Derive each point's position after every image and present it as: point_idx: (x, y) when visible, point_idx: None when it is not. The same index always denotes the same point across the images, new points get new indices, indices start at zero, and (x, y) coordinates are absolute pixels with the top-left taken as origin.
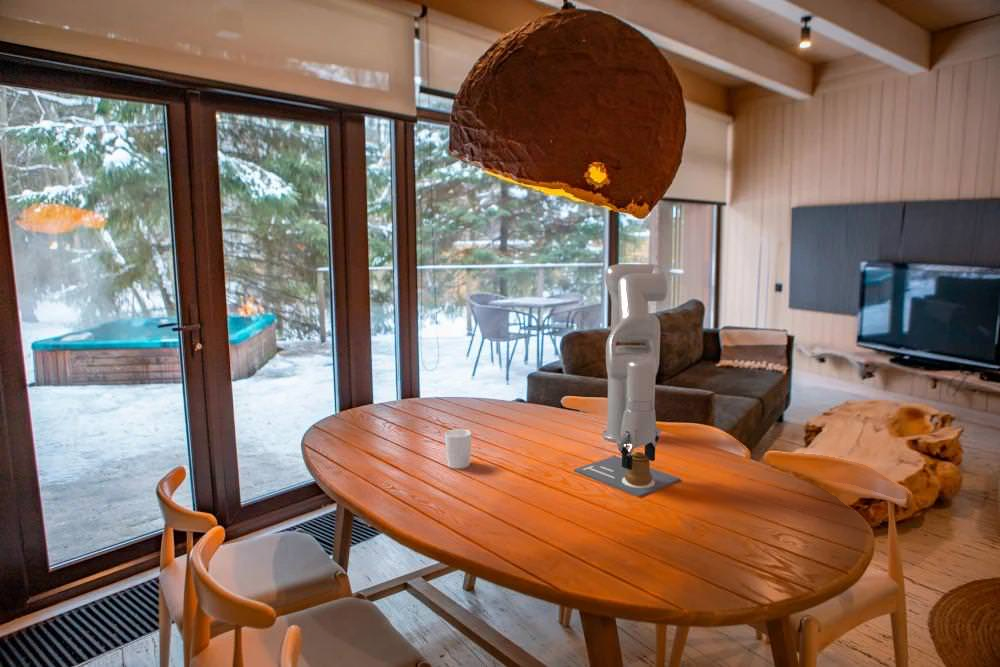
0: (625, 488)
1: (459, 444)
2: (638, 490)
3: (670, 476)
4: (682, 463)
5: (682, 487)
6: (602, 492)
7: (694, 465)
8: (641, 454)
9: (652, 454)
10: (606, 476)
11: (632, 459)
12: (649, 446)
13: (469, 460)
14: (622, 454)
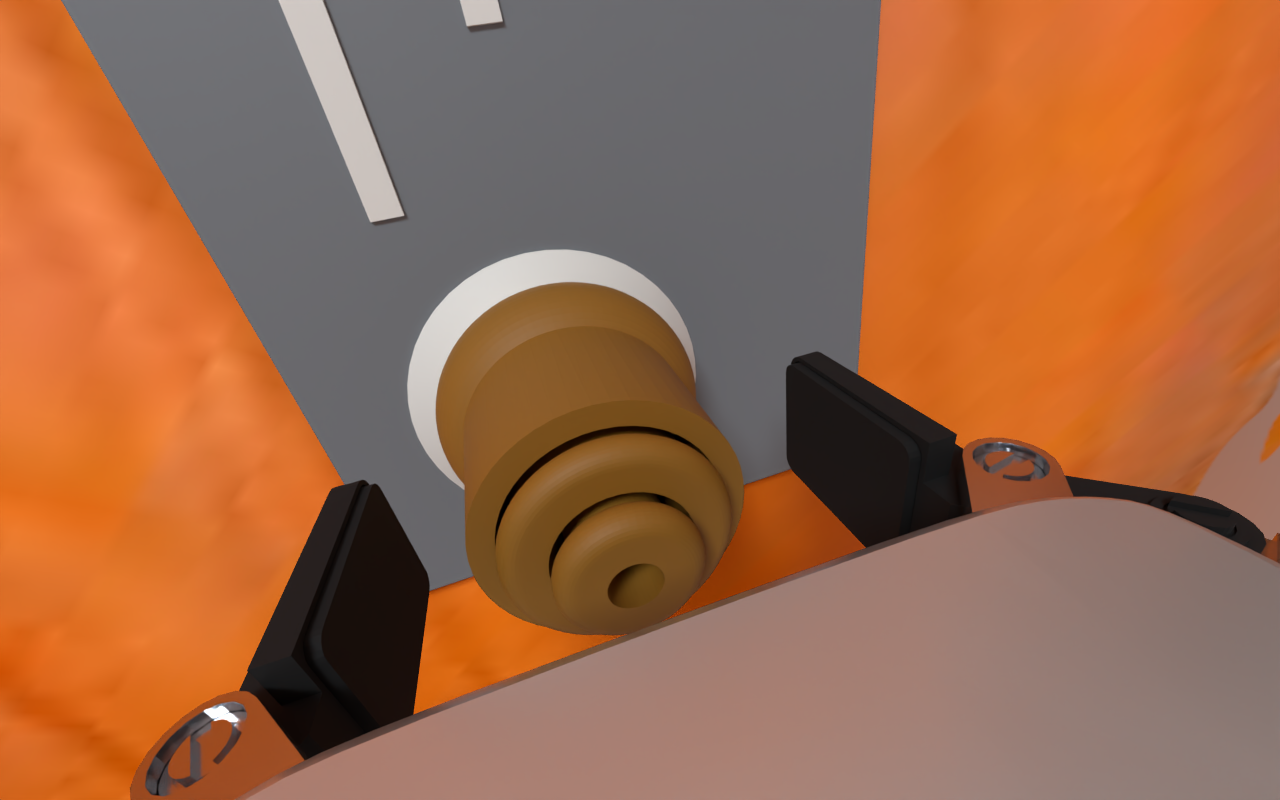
0: (365, 476)
1: None
2: (454, 533)
3: None
4: (1108, 197)
5: (769, 523)
6: (94, 430)
7: (1109, 271)
8: (641, 620)
9: (832, 506)
10: (306, 123)
11: (413, 701)
12: (915, 516)
13: None
14: (264, 652)
